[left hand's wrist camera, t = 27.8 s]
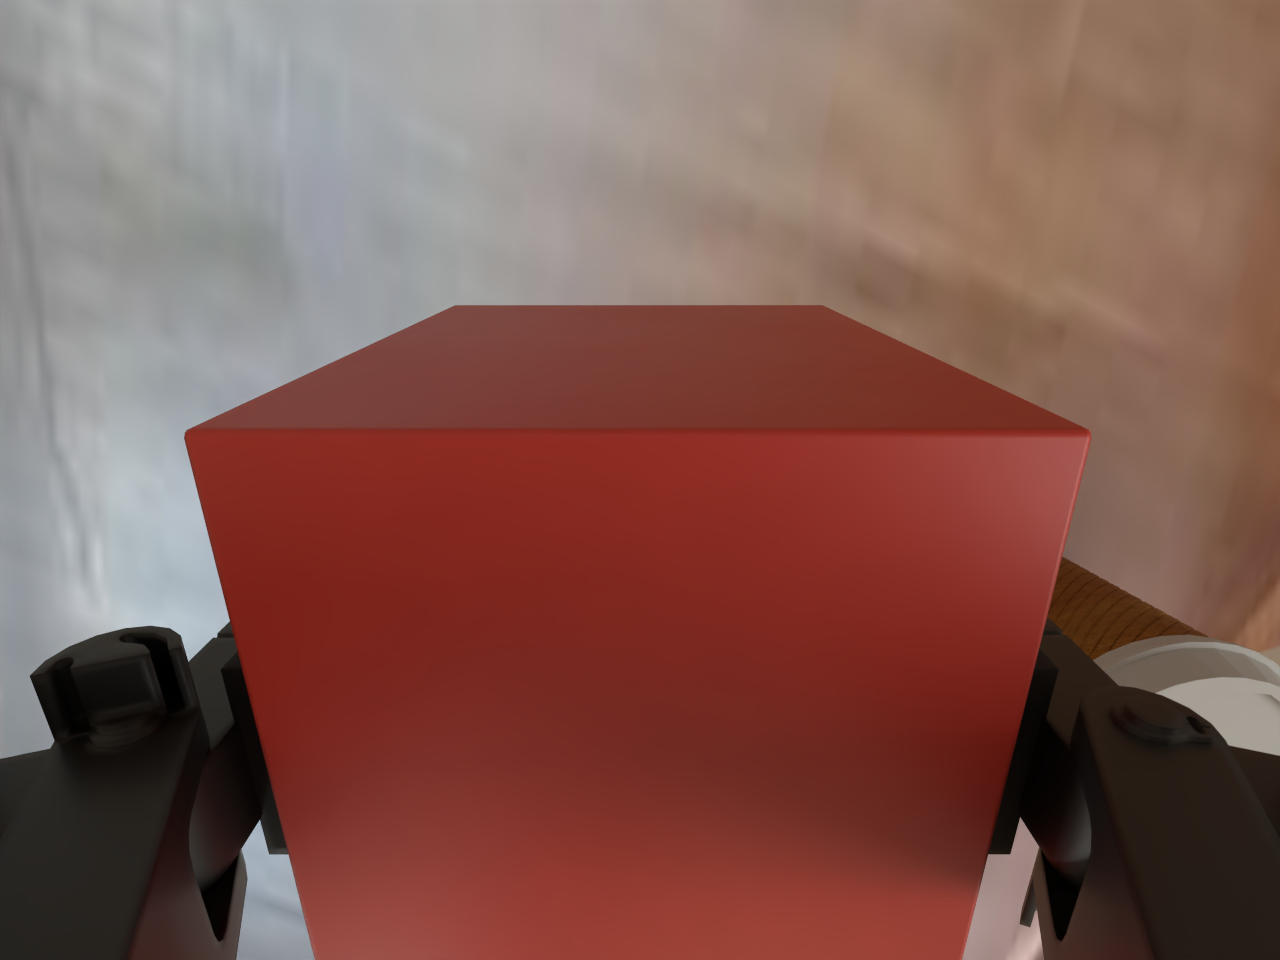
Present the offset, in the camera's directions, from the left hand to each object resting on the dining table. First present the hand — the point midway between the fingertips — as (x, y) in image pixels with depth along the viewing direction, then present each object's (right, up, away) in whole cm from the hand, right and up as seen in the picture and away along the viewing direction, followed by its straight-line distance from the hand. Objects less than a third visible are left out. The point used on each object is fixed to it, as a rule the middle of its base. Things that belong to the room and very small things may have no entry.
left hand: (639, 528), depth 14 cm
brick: (0, +1, +1) cm, 2 cm away
